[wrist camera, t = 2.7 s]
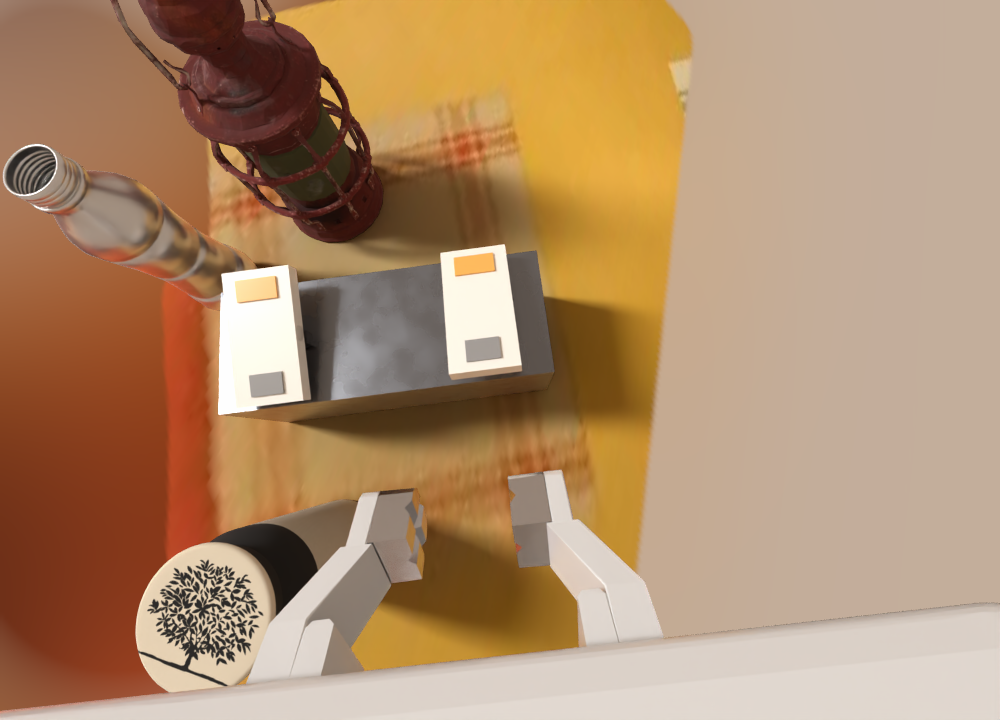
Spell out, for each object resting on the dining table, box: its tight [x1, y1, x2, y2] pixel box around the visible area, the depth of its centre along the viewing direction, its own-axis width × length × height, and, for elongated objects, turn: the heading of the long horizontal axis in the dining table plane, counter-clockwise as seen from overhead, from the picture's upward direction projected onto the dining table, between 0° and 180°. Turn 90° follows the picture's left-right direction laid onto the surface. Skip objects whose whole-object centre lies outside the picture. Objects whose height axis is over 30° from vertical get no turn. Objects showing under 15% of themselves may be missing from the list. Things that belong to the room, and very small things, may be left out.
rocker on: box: [440, 244, 522, 380], centre depth 31 cm, size 10×5×1 cm, turn 7°
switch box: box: [219, 251, 555, 422], centre depth 38 cm, size 10×26×11 cm, turn 97°
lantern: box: [111, 0, 383, 242], centre depth 33 cm, size 12×12×30 cm
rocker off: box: [222, 265, 311, 409], centre depth 32 cm, size 10×5×1 cm, turn 7°
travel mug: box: [136, 500, 358, 693], centre depth 31 cm, size 8×8×18 cm
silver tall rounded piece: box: [3, 144, 258, 311], centre depth 36 cm, size 6×7×20 cm
